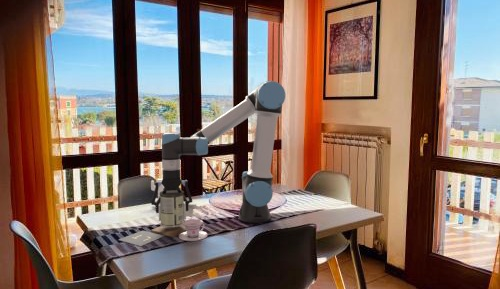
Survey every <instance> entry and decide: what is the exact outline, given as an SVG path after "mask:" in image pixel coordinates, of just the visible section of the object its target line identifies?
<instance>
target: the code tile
mask: <svg viewBox="0 0 500 289" xmlns="http://www.w3.org/2000/svg"><path fill="white" fill-rule="evenodd" d="M164 237H165V235H162V234H158V233H154V232H151V231H147V230H141V231H138V232H135V233H132V234H130V235H126V236H124V237H122V238H119V239H118V241H121V242H123V243H127V244H131V245H135V246H138V247H143V246H145V245H147V244H150V243H152V242H155V241H157V240H158V239H162V238H164Z"/></svg>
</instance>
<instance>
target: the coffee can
mask: <svg viewBox="0 0 500 289" xmlns="http://www.w3.org/2000/svg"><path fill="white" fill-rule="evenodd" d="M181 191H182V193H179V192H178V191H177V190H171V191H168V190H167V191H166V193H165V194H162V191H161V192H160V212H161V221H160V226H163V227H178V226H181V225H183V222H184V221H185V219H184V203H185V202H184V200H183V195H184V196H185V194H184V193H185V191H184V190H182V189H181Z"/></svg>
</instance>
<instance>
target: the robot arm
mask: <svg viewBox="0 0 500 289" xmlns="http://www.w3.org/2000/svg"><path fill="white" fill-rule="evenodd" d="M285 100H286V91H285V88H284V86H283V85H282V84H281V83H279V82H277V81H275V80H274V81H273V80H266V81H264V82H262V83H260V84H259V85H258V86H257V87H256V88H255V89H254V90H253V91H252V92H250V93H249V94H248V95H246V96H245V99H244V100H243V101H241V102H240V103H239V104H237V105H236V106H234V107H232V108H231V109H230V110H227V112H225V113H224V114H222V115H221V116H219V117H218V118H217V119H215V120H213V121H212V122H211V123H209V124H208V125H206V126H204V127H203V128H201V129H200V130H199V131H197V132H195V133H194V134H192V135H190V137H181V134H180V133H179V132H164V133H163V134H161V159H162V161H161V162H162V167H161V168H162V171H161V172H162V179H163V180H162V181H161V182H158V181H157V180H156V181H154V185H155V186H156V187H155V191H153V195H152V199H151V201H150V202H151V205H152V206H155V214H158V221H159V222H161V212H160V205H159V204H160V196H159V198H158V188H159V187H160V185H161V184H162V185H163V186H164V189H163V191H162V194H165V193H166V191H167V190H168V191H171V190H177V191H178V192H179V193H182V191H183V190H182V189H181V188H180V186H181V185H183V186H184V188H185V191H186V194H187V197H188V199H187V197H186V195H185V194H184V195H183V200H184V220H187V217H186V211H188V204H189V203H190V204H193V199H192V195H191V192H190V189H189V186H188V184H189V182H188V180H187V179H185V180H182V178H181V156H204V155H208V153H209V145H210V144H211V143H213V142H214V141H216V140H217V139H219V138H220V137H221V136H223V135H224V134H226V133H228V132H229V131H231V130H232V129H233V128H235V127H236V126H238V125H239V124H241V123H243V122H244V121H245V120H247V119H248V118H249V117H251V116H253V115H254V114H256V115H257V116H256V125H255V126H256V127H255V132H254V141H253V149H252V157H251V158H252V159H251V163H250V164H251V165H250V170H246V171H243V172H242V174H241V175H242V176H241V179H242V180H241V181H242V185H241V186H242V190H241V191H242V193H241V194H242V195H241V196H242V198H241V199H242V201H241V205H240V208H239V211H238V219H239V220H240V221H242V222H245V223H250V224H252V223H253V224H254V223H255V224H258V223H260V224H261V223H265V222H268V221H269V220H270V219H271V212H270V209H269V206H268V204H269V203H270V202H271V200H272V198H273V196H274V192H273V191H274V190H273V179H274V175H273V174H272V173H271V168H272V160H273V152H274V144H275V138H276V137H275V136H276V130H277V122H278V117H280V116H282V110H283V105H284V103H285ZM181 190H182V191H181ZM156 198H158V200H157V202H155V199H156Z"/></svg>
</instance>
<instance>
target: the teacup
mask: <svg viewBox="0 0 500 289" xmlns="http://www.w3.org/2000/svg"><path fill="white" fill-rule="evenodd" d="M183 224H184V226H185V228H186V230H187V231H185V232H183V233H181V234H179V235H178V238H179V240H182V241H186V242H197V241H201V240H204V239H206V238H207V237H208V233H207V231H203V230H204V229H205V224H206V223H205V222H204V221H203V219H202V220H201V219H192V218H191V219H185V220H184V222H183ZM201 226H202V228H201ZM200 228H201V229H200Z"/></svg>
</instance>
